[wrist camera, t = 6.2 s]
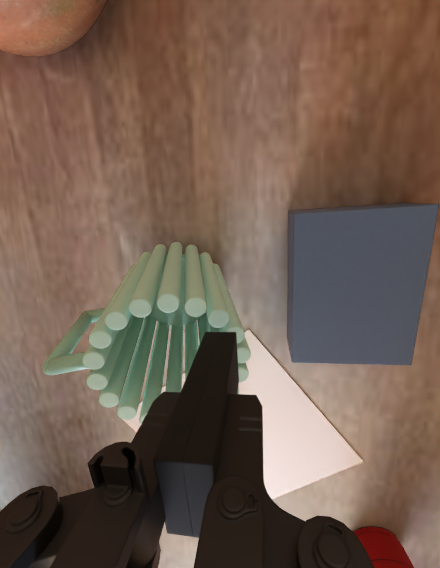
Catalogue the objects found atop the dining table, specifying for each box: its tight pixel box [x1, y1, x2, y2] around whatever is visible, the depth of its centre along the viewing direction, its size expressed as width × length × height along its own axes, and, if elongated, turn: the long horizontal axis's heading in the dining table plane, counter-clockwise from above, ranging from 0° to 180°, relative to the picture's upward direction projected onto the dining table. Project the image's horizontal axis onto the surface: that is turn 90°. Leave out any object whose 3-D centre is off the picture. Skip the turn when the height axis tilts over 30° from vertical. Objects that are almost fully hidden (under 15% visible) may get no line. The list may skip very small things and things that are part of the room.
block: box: [287, 203, 439, 365], centre depth 21 cm, size 9×12×4 cm
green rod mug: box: [42, 242, 251, 425], centre depth 19 cm, size 14×9×15 cm
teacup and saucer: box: [124, 330, 363, 499], centre depth 29 cm, size 9×8×4 cm
